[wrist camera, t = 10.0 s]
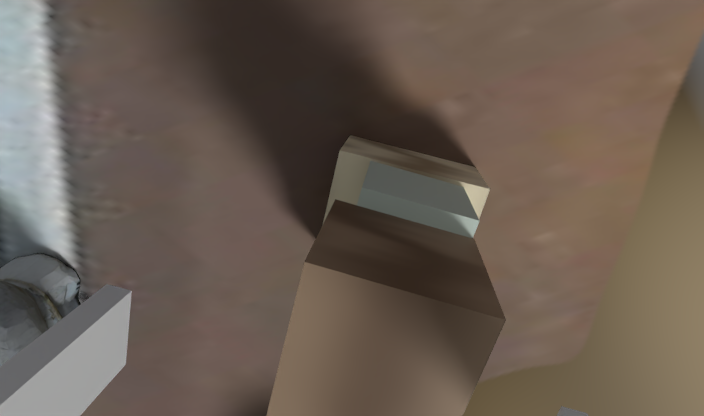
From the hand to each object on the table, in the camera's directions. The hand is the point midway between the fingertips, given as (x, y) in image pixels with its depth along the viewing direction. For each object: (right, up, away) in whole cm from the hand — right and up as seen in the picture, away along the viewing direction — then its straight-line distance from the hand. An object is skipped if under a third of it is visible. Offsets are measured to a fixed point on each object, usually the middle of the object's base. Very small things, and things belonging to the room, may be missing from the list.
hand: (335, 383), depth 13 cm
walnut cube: (+2, +2, +6) cm, 7 cm away
